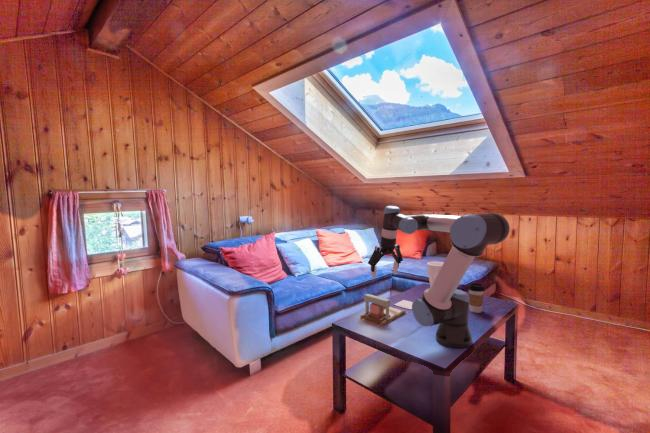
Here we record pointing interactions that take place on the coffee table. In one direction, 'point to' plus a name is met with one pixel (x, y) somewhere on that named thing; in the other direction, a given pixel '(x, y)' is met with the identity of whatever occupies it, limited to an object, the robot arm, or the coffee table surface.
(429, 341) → the coffee table surface
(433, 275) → the cup
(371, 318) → the puzzle board
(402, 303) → the mat
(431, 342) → the coffee table surface
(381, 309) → the block
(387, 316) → the cover bar
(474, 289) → the coffee cup
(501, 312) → the coffee table surface
